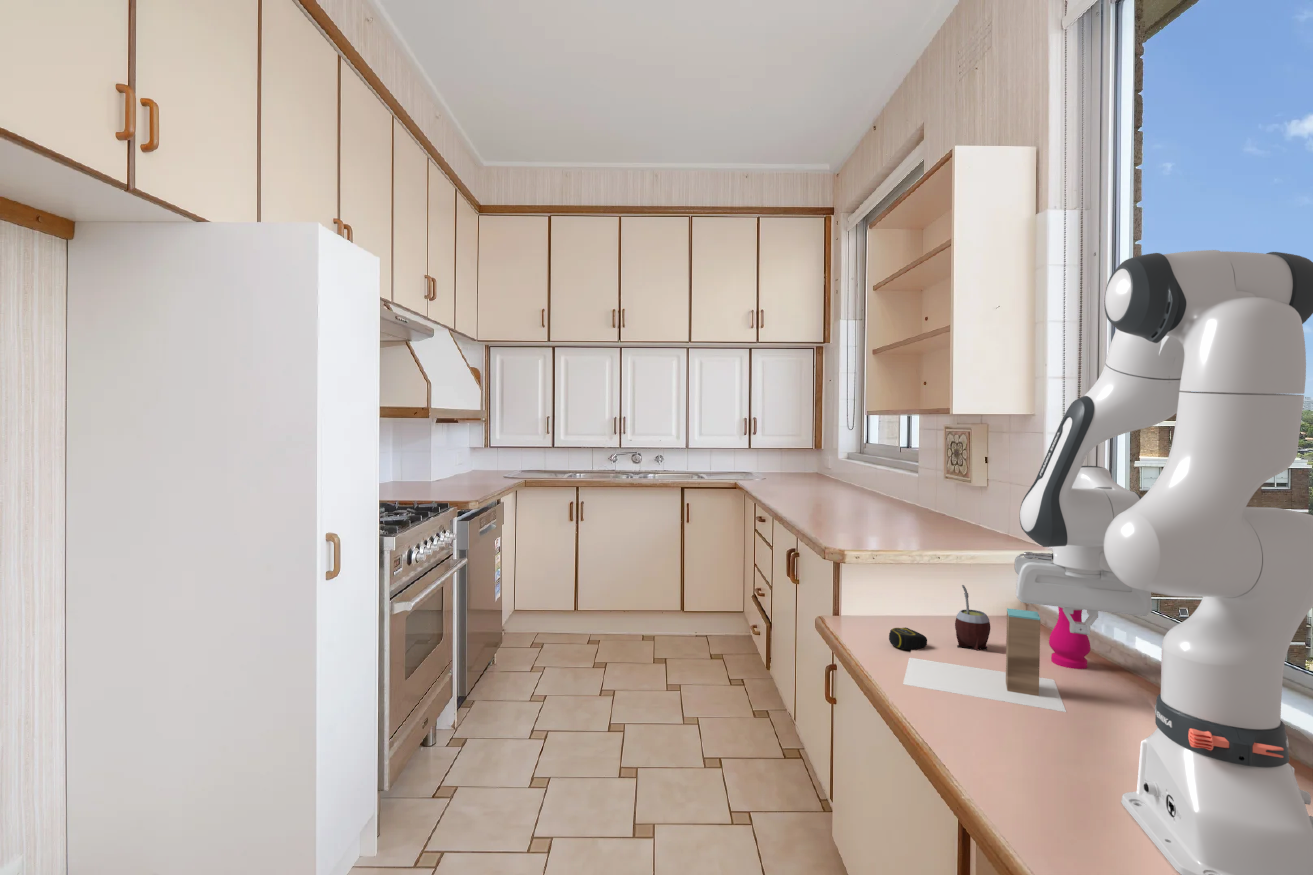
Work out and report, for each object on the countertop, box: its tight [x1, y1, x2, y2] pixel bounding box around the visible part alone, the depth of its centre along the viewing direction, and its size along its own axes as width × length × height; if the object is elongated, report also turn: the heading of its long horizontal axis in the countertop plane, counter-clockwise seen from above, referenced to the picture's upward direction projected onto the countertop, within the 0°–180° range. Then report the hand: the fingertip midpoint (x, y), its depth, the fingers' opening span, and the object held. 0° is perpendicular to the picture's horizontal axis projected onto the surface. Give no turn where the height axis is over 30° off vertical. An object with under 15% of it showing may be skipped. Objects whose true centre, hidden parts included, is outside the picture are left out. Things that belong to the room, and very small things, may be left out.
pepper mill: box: [1048, 606, 1091, 670], centre depth 132 cm, size 7×7×20 cm
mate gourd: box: [954, 584, 991, 652], centre depth 142 cm, size 8×8×15 cm
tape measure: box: [888, 627, 928, 651], centre depth 143 cm, size 7×7×4 cm
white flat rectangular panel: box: [902, 657, 1067, 713], centre depth 122 cm, size 16×26×1 cm, turn 65°
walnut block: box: [1005, 607, 1041, 696], centre depth 119 cm, size 5×5×14 cm
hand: (1079, 633), depth 115 cm, fingers closed
